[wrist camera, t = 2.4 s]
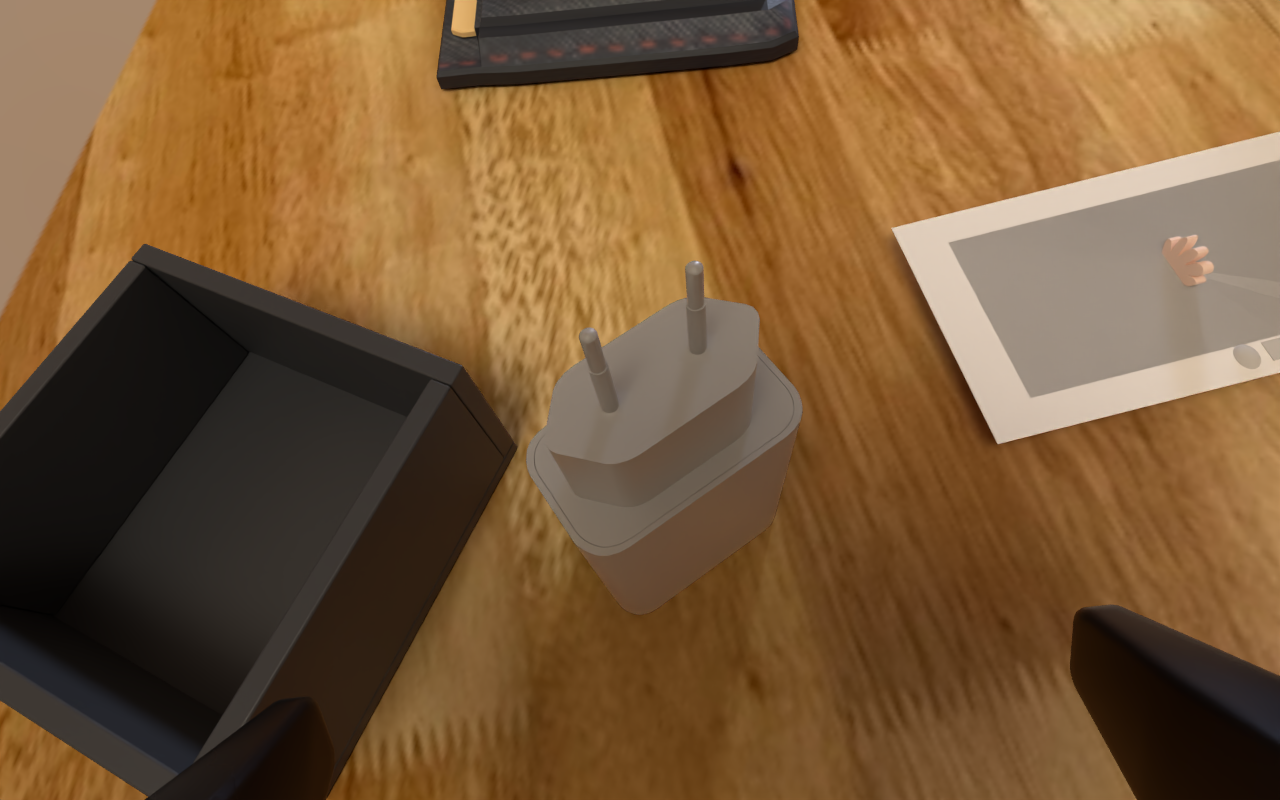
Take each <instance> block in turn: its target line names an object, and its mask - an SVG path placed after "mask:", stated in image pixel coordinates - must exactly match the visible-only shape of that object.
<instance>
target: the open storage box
mask: <svg viewBox="0 0 1280 800" xmlns="http://www.w3.org/2000/svg"><path fill="white" fill-rule="evenodd" d="M132 260H133V261H129V262H128V263H127V265H126V266H125V267H124V268H123V269H122V270H121V272H120V273H119V274H118V275H117V276H116V277H115V279H114V280H113V281H112V282H111V283H110V284H109V286H108V287H107V288H106V289H105V290H104V291H103V293H102V294H101V295H100V296H99V297H98V298H97V300H96V301H95V302H94V303H93V304H92V305H91V307H90V308H89V309H88V310H87V311H86V312H85V314H84V315H83V316H82V317H81V318H80V319H79V320H78V322H77V323H76V324H75V325H74V326H73V327H72V329H71V330H70V331H69V332H68V333H67V334H66V336H65V337H64V338H63V339H62V340H61V341H60V343H59V344H58V345H57V346H56V347H55V348H54V350H53V351H52V352H51V353H50V354H49V355H48V357H47V358H46V359H45V360H44V361H43V362H42V364H41V365H40V366H39V367H38V368H37V369H36V371H35V372H34V373H33V374H32V375H31V376H30V377H29V379H28V380H27V381H26V382H25V383H24V384H23V386H22V387H21V388H20V389H19V390H18V391H17V393H16V394H15V395H14V396H13V397H12V398H11V400H10V401H9V402H8V403H7V404H6V405H5V407H4V408H3V409H2V410H1V411H0V701H2V702H3V703H5V704H6V705H8V706H9V707H11V708H13V709H14V710H16V711H17V712H19V713H20V714H22V715H23V716H25V717H26V718H28V719H29V720H31V721H33V722H34V723H36V724H37V725H39V726H40V727H42V728H43V729H45V730H46V731H48V732H49V733H51V734H53V735H54V736H56V737H57V738H59V739H60V740H62V741H63V742H65V743H66V744H68V745H70V746H71V747H73V748H74V749H76V750H77V751H79V752H80V753H82V754H83V755H85V756H86V757H88V758H90V759H91V760H93V761H94V762H96V763H97V764H99V765H100V766H102V767H103V768H105V769H106V770H108V771H110V772H111V773H113V774H114V775H116V776H117V777H119V778H120V779H122V780H123V781H125V782H126V783H128V784H130V785H131V786H133V787H134V788H136V789H137V790H139V791H140V792H142V793H143V794H145V795H146V796H148V797H149V796H150V795H152V794H153V793H154V792H156V791H157V790H158V789H160V788H161V787H162V786H164V785H165V784H166V783H168V782H169V781H170V780H172V779H173V778H174V777H176V776H177V775H178V774H180V773H181V772H182V771H184V770H185V769H186V768H188V767H189V766H190V765H192V764H193V763H194V762H196V761H197V760H198V759H200V758H201V757H202V756H204V755H205V754H206V753H208V752H209V751H210V750H212V749H213V748H214V747H215V746H217V745H218V744H219V743H221V742H222V741H223V740H225V739H226V738H227V737H229V736H230V735H231V734H233V733H234V732H235V731H237V730H238V729H239V728H241V727H242V726H243V725H245V724H246V723H247V722H249V721H250V720H251V719H253V718H254V717H255V716H257V715H258V714H259V713H261V712H262V711H263V710H265V709H266V708H267V707H269V706H270V705H271V704H273V703H274V702H276V701H278V700H281V699H287V698H296V697H305V696H308V697H312V698H314V699H315V700H316V701H317V703H318V705H319V707H320V710H321V712H322V715H323V718H324V721H325V724H326V726H327V729H328V732H329V735H330V737H331V740H332V743H333V746H334V751H335V766H334V771H333V775H332V779H331V782H330V786H329V790H328V793H327V796H328V794H329V792H330V790H331V788H332V786H333V785H334V783H335V781H336V779H337V777H338V775H339V774H340V772H341V770H342V768H343V766H344V764H345V763H346V761H347V759H348V757H349V755H350V753H351V752H352V750H353V748H354V746H355V744H356V742H357V741H358V739H359V737H360V735H361V733H362V731H363V730H364V728H365V726H366V724H367V722H368V720H369V719H370V717H371V715H372V713H373V711H374V709H375V708H376V706H377V704H378V702H379V700H380V698H381V697H382V695H383V693H384V691H385V689H386V687H387V686H388V684H389V682H390V680H391V678H392V676H393V675H394V673H395V671H396V669H397V667H398V665H399V664H400V662H401V660H402V658H403V656H404V654H405V653H406V651H407V649H408V647H409V645H410V643H411V642H412V640H413V638H414V636H415V634H416V632H417V631H418V629H419V627H420V625H421V623H422V621H423V620H424V618H425V616H426V614H427V612H428V610H429V609H430V607H431V605H432V603H433V601H434V599H435V598H436V596H437V594H438V592H439V590H440V588H441V587H442V585H443V583H444V581H445V579H446V577H447V576H448V574H449V572H450V570H451V568H452V566H453V565H454V563H455V561H456V559H457V557H458V555H459V554H460V552H461V550H462V548H463V546H464V544H465V543H466V541H467V539H468V537H469V535H470V533H471V532H472V530H473V528H474V526H475V524H476V522H477V521H478V519H479V517H480V515H481V513H482V511H483V510H484V508H485V506H486V504H487V502H488V500H489V499H490V497H491V495H492V493H493V491H494V489H495V488H496V486H497V484H498V482H499V480H500V478H501V477H502V475H503V473H504V471H505V469H506V467H507V466H508V464H509V462H510V460H511V458H512V456H513V455H514V453H515V451H516V449H517V446H516V444H515V443H514V442H513V440H512V438H511V437H510V435H509V434H508V432H507V431H506V429H505V428H504V426H503V425H502V423H501V422H500V420H499V419H498V417H497V416H496V414H495V413H494V412H493V410H492V409H491V407H490V406H489V404H488V403H487V401H486V400H485V398H484V397H483V395H482V394H481V392H480V391H479V389H478V388H477V386H476V385H475V383H474V382H473V380H472V379H471V377H470V376H469V375H468V373H467V372H466V370H465V369H464V367H463V366H462V365H460V364H457V363H455V362H452V361H449V360H447V359H444V358H442V357H439V356H436V355H434V354H431V353H429V352H426V351H423V350H421V349H418V348H415V347H413V346H410V345H408V344H405V343H402V342H400V341H397V340H395V339H392V338H389V337H387V336H384V335H382V334H379V333H376V332H374V331H371V330H369V329H366V328H363V327H361V326H358V325H356V324H353V323H350V322H348V321H345V320H343V319H340V318H337V317H335V316H332V315H330V314H327V313H324V312H322V311H319V310H316V309H314V308H311V307H309V306H306V305H303V304H301V303H298V302H296V301H293V300H290V299H288V298H285V297H283V296H280V295H277V294H275V293H272V292H270V291H267V290H264V289H262V288H259V287H257V286H254V285H251V284H249V283H246V282H244V281H241V280H238V279H236V278H233V277H231V276H228V275H225V274H223V273H220V272H217V271H215V270H212V269H210V268H207V267H204V266H202V265H199V264H197V263H194V262H191V261H189V260H186V259H184V258H181V257H178V256H176V255H173V254H171V253H168V252H165V251H163V250H160V249H158V248H155V247H152V246H150V245H147V244H143V245H142V247H141V248H140V249H139V250H138V251H137V252H136V254H135V255H134V256H133V257H132Z"/></svg>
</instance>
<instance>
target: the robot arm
mask: <svg viewBox="0 0 1280 800" xmlns="http://www.w3.org/2000/svg"><path fill="white" fill-rule="evenodd" d="M1070 671H1071V676H1072V680H1073V683H1074V685H1075V688H1076V690H1077V692H1078V693H1079V695H1080V697H1081V699H1082V701H1083V702H1084V704H1085V706H1086V708H1087V710H1088V712H1089V713H1090V715H1091V717H1092V719H1093V721H1094V722H1095V724H1096V726H1097V728H1098V730H1099V732H1100V733H1101V735H1102V737H1103V739H1104V741H1105V743H1106V744H1107V746H1108V748H1109V750H1110V752H1111V753H1112V755H1113V757H1114V759H1115V761H1116V763H1117V764H1118V766H1119V768H1120V770H1121V772H1122V773H1123V775H1124V777H1125V779H1126V781H1127V783H1128V784H1129V786H1130V788H1131V790H1132V792H1133V794H1134V795H1135V797H1136V799H1137V800H1280V676H1279V675H1276V674H1274V673H1272V672H1269V671H1267V670H1265V669H1263V668H1260V667H1258V666H1256V665H1253V664H1251V663H1249V662H1247V661H1244V660H1242V659H1240V658H1237V657H1235V656H1233V655H1231V654H1228V653H1226V652H1224V651H1221V650H1219V649H1217V648H1215V647H1212V646H1210V645H1208V644H1206V643H1203V642H1201V641H1199V640H1196V639H1194V638H1192V637H1190V636H1187V635H1185V634H1183V633H1180V632H1178V631H1176V630H1174V629H1171V628H1169V627H1167V626H1164V625H1162V624H1160V623H1158V622H1155V621H1153V620H1151V619H1148V618H1146V617H1144V616H1142V615H1139V614H1137V613H1135V612H1132V611H1130V610H1128V609H1126V608H1123V607H1121V606H1118V605H1102V606H1093V607H1084V608H1081V609H1080V610H1078V611H1077V612H1076V614H1075V616H1074V621H1073V632H1072V645H1071V657H1070ZM334 766H335V751H334V746H333V743H332V740H331V737H330V735H329V732H328V729H327V726H326V724H325V721H324V718H323V715H322V712H321V710H320V707H319V705H318V703H317V701H316V700H315V699H314V698H312V697H308V696H305V697H296V698H287V699H281V700H278V701H276V702H274V703H273V704H271V705H270V706H269V707H267V708H266V709H265V710H263V711H262V712H261V713H259V714H258V715H257V716H255V717H254V718H253V719H251V720H250V721H249V722H247V723H246V724H245V725H243V726H242V727H241V728H239V729H238V730H237V731H235V732H234V733H233V734H231V735H230V736H229V737H227V738H226V739H225V740H223V741H222V742H221V743H219V744H218V745H217V746H215V747H214V748H213V749H212V750H210V751H209V752H208V753H206V754H205V755H204V756H202V757H201V758H200V759H198V760H197V761H196V762H194V763H193V764H192V765H190V766H189V767H188V768H186V769H185V770H184V771H182V772H181V773H180V774H178V775H177V776H176V777H174V778H173V779H172V780H170V781H169V782H168V783H166V784H165V785H164V786H162V787H161V788H160V789H158V790H157V791H156V792H154V793H153V794H152V795H150V796H149V797H148V798H146V799H145V800H326V797H327V793H328V790H329V786H330V782H331V779H332V775H333V771H334Z"/></svg>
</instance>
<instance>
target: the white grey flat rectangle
mask: <svg viewBox="0 0 1280 800" xmlns="http://www.w3.org/2000/svg"><path fill="white" fill-rule="evenodd" d="M892 231H893V233H894V235H895V237H896V239H897V241H898V243H899V245H900V247H901V249H902V251H903V253H904V255H905V257H906V259H907V261H908V264H909V266H910V268H911V270H912V272H913V274H914V276H915V278H916V280H917V282H918V284H919V286H920V288H921V290H922V292H923V294H924V296H925V298H926V300H927V302H928V304H929V306H930V308H931V310H932V312H933V314H934V316H935V318H936V320H937V322H938V325H939V327H940V329H941V331H942V333H943V335H944V337H945V339H946V341H947V343H948V345H949V347H950V349H951V351H952V353H953V355H954V357H955V359H956V361H957V363H958V365H959V367H960V369H961V371H962V373H963V375H964V377H965V379H966V381H967V383H968V385H969V388H970V390H971V392H972V394H973V396H974V398H975V400H976V402H977V404H978V406H979V408H980V410H981V412H982V414H983V416H984V418H985V420H986V422H987V424H988V426H989V428H990V430H991V432H992V434H993V436H994V438H995V440H996V442H997V444H1001V443H1005V442H1009V441H1013V440H1017V439H1021V438H1025V437H1029V436H1033V435H1037V434H1041V433H1045V432H1048V431H1052V430H1056V429H1060V428H1064V427H1068V426H1072V425H1076V424H1080V423H1084V422H1088V421H1092V420H1096V419H1100V418H1104V417H1108V416H1111V415H1115V414H1119V413H1123V412H1127V411H1131V410H1135V409H1139V408H1143V407H1147V406H1151V405H1155V404H1159V403H1163V402H1167V401H1170V400H1174V399H1178V398H1182V397H1186V396H1190V395H1194V394H1198V393H1202V392H1206V391H1210V390H1214V389H1218V388H1222V387H1226V386H1230V385H1233V384H1237V383H1241V382H1245V381H1249V380H1253V379H1257V378H1261V377H1265V376H1269V375H1273V374H1277V373H1280V132H1276V133H1272V134H1268V135H1264V136H1260V137H1256V138H1252V139H1248V140H1244V141H1240V142H1236V143H1232V144H1228V145H1224V146H1220V147H1216V148H1212V149H1208V150H1204V151H1200V152H1196V153H1192V154H1188V155H1184V156H1180V157H1176V158H1172V159H1168V160H1164V161H1160V162H1156V163H1152V164H1148V165H1144V166H1140V167H1135V168H1131V169H1127V170H1123V171H1119V172H1115V173H1111V174H1107V175H1103V176H1099V177H1095V178H1091V179H1087V180H1083V181H1079V182H1075V183H1071V184H1067V185H1063V186H1059V187H1055V188H1051V189H1047V190H1043V191H1039V192H1035V193H1031V194H1027V195H1023V196H1019V197H1015V198H1011V199H1007V200H1003V201H999V202H995V203H991V204H987V205H983V206H979V207H975V208H971V209H967V210H963V211H959V212H955V213H951V214H947V215H943V216H939V217H935V218H931V219H927V220H923V221H919V222H915V223H911V224H906V225H902V226H898V227H894V228H892Z"/></svg>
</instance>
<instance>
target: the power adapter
mask: <svg viewBox="0 0 1280 800" xmlns="http://www.w3.org/2000/svg"><path fill="white" fill-rule="evenodd" d="M685 273H686V289H687V298H684V299H680V300H677V301H675V302H673V303H671V304H669V305H667V306H666V307H664V308H663V309H661V310H660V311H658V312H656V313H655V314H653V315H652V316H650V317H649V318H647V319H646V320H644V321H642V322H641V323H639V324H638V325H636V326H635V327H633V328H632V329H630V330H628V331H627V332H625V333H624V334H622V335H621V336H619V337H617V338H616V339H614V340H613V341H611V342H610V343H608V344H607V345H605V346H603V347H601V344H600V341H599V337H598V334H597V331H596V330H595V329H593V328H585V329H583V330H582V331H581V332H580V334H579V339H580V342H581V345H582V348H583V351H584V354H585V357H586V358H585V359H583V360H582V361H580V362H578V363H577V364H575V365H574V366H573V367H571V368H570V369H569V370H568V371H566V372H565V373H564V374H563V375H562V377H561V378H560V379H559V380H558V381H557V383H556V385H555V387H554V390H553V394H552V399H551V405H550V410H549V416H548V421H547V425H546V426H545V427H544V428H543V429H541V430H540V431H539V432H538V433H537V434H536V435H535V436H534V438H533V439H532V440H531V442H530V444H529V446H528V449H527V457H526V463H527V468H528V471H529V474H530V476H531V478H532V479H533V481H534V482H535V484H536V485H537V487H538V488H539V490H540V491H541V493H542V494H543V496H544V497H545V499H546V501H547V502H548V504H549V505H550V507H551V508H552V510H553V511H554V513H555V514H556V516H557V517H558V519H559V520H560V522H561V523H562V525H563V526H564V528H565V530H566V531H567V533H568V534H569V536H570V537H571V539H572V540H573V542H574V543H575V544H576V546H577V547H578V549H579V550H580V551H581V553H582V554H583V555H584V557H585V558H586V560H587V561H588V562H589V564H590V565H591V567H592V568H593V569H594V571H595V572H596V573H597V575H598V576H599V578H600V579H601V580H602V582H603V583H604V585H605V586H606V587H607V589H608V590H609V592H610V593H611V594H612V596H613V597H614V598H615V600H616V601H617V603H618V604H619V605H620V606H621V607H622V608H623V609H625V610H626V611H628V612H630V613H633V614H638V615H643V614H647V613H650V612H652V611H654V610H656V609H657V608H659V607H660V606H662V605H663V604H664V603H666V602H667V601H668V600H670V599H671V598H673V597H674V596H675V595H677V594H678V593H679V592H681V591H682V590H684V589H685V588H686V587H688V586H689V585H690V584H692V583H693V582H695V581H696V580H697V579H699V578H700V577H701V576H703V575H704V574H706V573H707V572H708V571H710V570H711V569H712V568H714V567H715V566H717V565H718V564H719V563H721V562H722V561H723V560H725V559H726V558H728V557H729V556H730V555H732V554H733V553H734V552H736V551H737V550H739V549H740V548H741V547H743V546H744V545H745V544H747V543H748V542H750V541H751V540H752V539H754V538H755V537H756V536H758V535H759V534H761V533H762V532H763V531H765V530H766V529H767V528H768V527H769V526H770V525H771V523H772V521H773V520H774V517H775V513H776V510H777V506H778V502H779V499H780V495H781V491H782V487H783V484H784V480H785V476H786V472H787V469H788V465H789V461H790V457H791V454H792V450H793V446H794V443H795V439H796V435H797V431H798V428H799V424H800V420H801V416H802V402H801V398H800V396H799V393H798V391H797V390H796V388H795V387H794V386H793V385H792V384H791V382H790V381H789V380H788V379H787V378H786V377H785V376H784V375H783V374H782V372H781V371H780V370H779V369H778V368H777V367H776V366H775V365H774V364H773V363H772V361H771V360H770V359H769V358H768V357H767V356H766V355H765V354H764V353H763V352H762V350H761V349H760V348H759V347H758V339H759V320H760V319H759V315H758V312H757V311H756V310H755V309H754V308H753V307H751V306H749V305H746V304H741V303H735V302H729V301H723V300H716V299H710V298H704V273H703V265H702V263H700V262H698V261H691V262H689V263H688V264H687V265H686V268H685Z"/></svg>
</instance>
